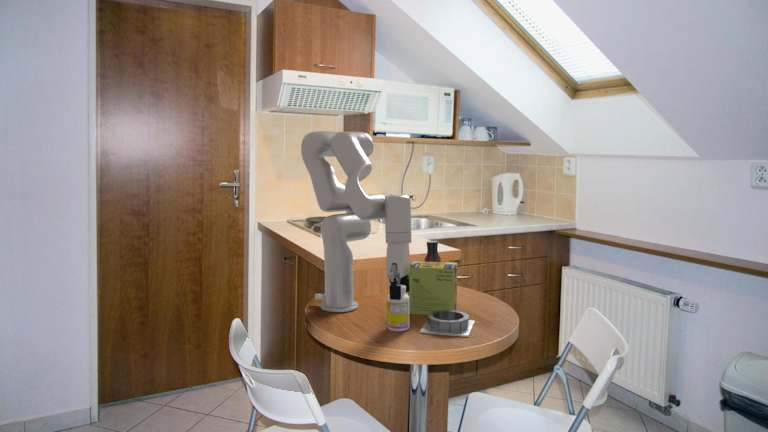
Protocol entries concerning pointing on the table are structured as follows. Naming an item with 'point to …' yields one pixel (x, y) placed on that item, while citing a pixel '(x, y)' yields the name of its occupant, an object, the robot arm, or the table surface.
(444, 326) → the ring collar
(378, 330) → the table surface
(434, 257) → the sauce bottle
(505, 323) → the table surface
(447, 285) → the protein box
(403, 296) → the supplement bottle
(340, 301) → the robot arm
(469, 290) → the table surface
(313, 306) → the table surface
